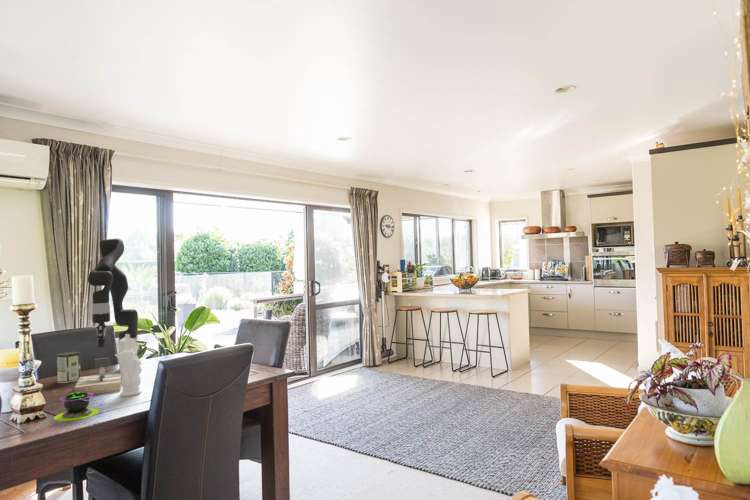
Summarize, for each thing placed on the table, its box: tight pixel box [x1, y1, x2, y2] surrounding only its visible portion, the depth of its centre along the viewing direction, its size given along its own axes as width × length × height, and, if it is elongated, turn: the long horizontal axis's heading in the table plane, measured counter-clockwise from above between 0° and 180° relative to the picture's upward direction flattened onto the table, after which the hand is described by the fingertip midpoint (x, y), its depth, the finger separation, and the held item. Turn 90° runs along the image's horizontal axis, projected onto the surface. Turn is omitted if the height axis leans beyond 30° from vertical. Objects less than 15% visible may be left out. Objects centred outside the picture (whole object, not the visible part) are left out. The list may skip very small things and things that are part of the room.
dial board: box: [74, 371, 122, 396], centre depth 230 cm, size 24×18×4 cm
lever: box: [94, 357, 110, 380], centre depth 230 cm, size 9×6×9 cm, turn 27°
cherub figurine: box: [114, 342, 142, 397], centre depth 218 cm, size 12×12×22 cm
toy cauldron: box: [53, 384, 100, 422], centre depth 188 cm, size 15×15×11 cm
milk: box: [119, 334, 136, 378], centre depth 253 cm, size 6×6×22 cm
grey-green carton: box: [56, 350, 82, 384], centre depth 247 cm, size 10×10×14 cm
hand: (101, 346), depth 233 cm, fingers open, 8 cm apart
